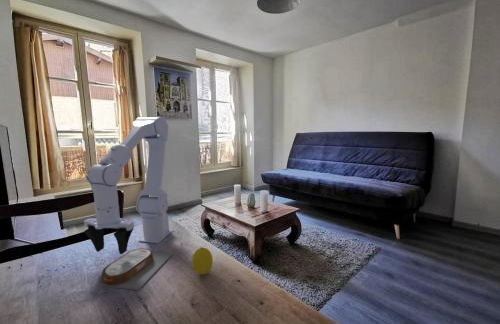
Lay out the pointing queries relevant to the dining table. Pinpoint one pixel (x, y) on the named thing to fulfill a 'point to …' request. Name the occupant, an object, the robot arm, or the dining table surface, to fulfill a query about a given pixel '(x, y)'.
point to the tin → (127, 266)
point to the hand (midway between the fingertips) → (111, 251)
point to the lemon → (202, 261)
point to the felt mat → (144, 272)
